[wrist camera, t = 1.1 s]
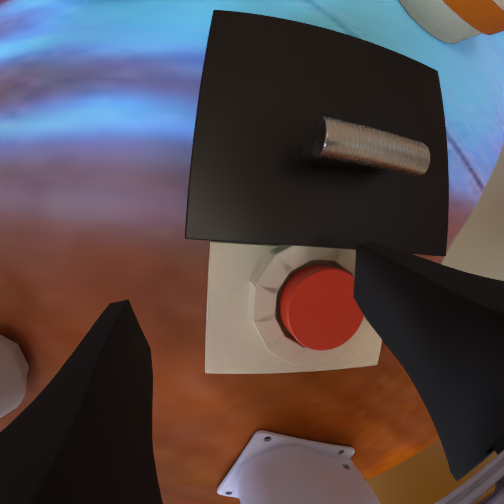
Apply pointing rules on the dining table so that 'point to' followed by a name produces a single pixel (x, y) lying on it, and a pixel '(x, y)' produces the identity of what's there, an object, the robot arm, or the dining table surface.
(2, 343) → the salt shaker
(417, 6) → the reusable coffee cup
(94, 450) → the robot arm
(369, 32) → the dining table surface
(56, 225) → the dining table surface
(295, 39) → the lid
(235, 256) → the button base
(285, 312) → the button
